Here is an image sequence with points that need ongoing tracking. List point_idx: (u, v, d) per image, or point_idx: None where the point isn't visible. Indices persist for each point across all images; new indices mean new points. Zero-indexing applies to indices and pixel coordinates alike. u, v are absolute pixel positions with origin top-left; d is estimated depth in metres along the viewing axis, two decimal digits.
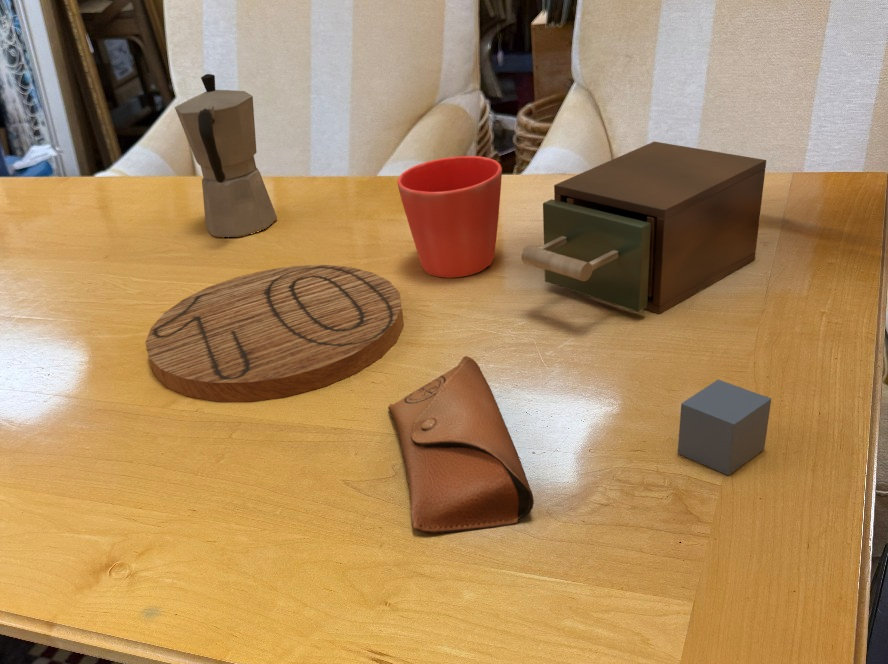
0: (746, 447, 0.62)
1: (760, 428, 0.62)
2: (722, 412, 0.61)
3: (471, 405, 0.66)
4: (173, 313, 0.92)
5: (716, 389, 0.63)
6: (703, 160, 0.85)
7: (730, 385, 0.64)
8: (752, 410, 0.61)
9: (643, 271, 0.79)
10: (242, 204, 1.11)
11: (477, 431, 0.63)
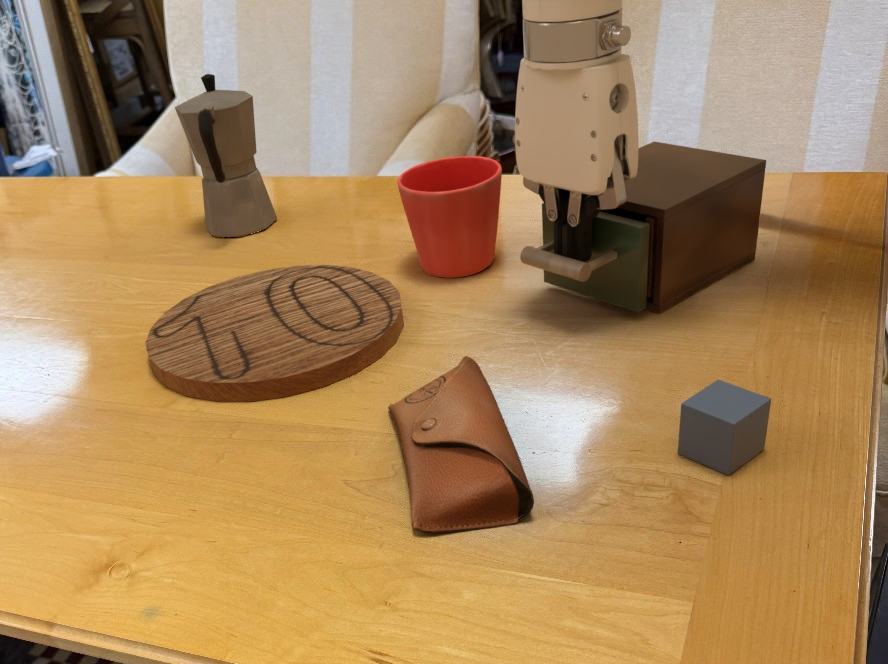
0: (746, 447, 0.62)
1: (760, 428, 0.62)
2: (722, 412, 0.61)
3: (471, 405, 0.66)
4: (173, 313, 0.92)
5: (716, 389, 0.63)
6: (703, 160, 0.85)
7: (730, 385, 0.64)
8: (752, 410, 0.61)
9: (642, 272, 0.79)
10: (242, 204, 1.11)
11: (477, 431, 0.63)
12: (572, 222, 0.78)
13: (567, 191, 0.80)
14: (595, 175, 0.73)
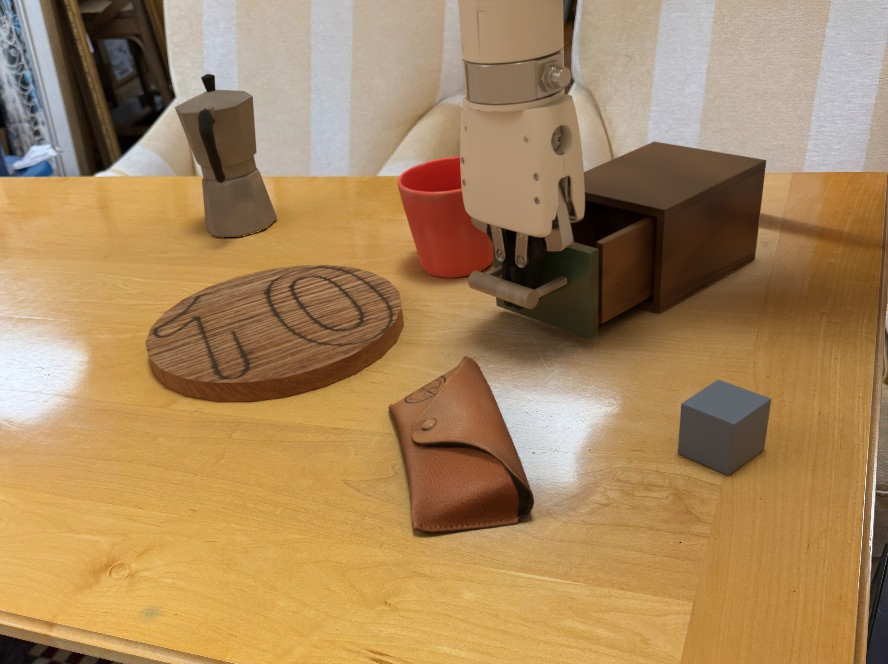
0: (746, 447, 0.62)
1: (760, 428, 0.62)
2: (722, 412, 0.61)
3: (471, 405, 0.66)
4: (173, 313, 0.92)
5: (716, 389, 0.63)
6: (703, 160, 0.85)
7: (730, 385, 0.64)
8: (752, 410, 0.61)
9: (592, 298, 0.76)
10: (242, 204, 1.11)
11: (477, 431, 0.63)
12: (520, 263, 0.76)
13: None
14: (539, 218, 0.70)
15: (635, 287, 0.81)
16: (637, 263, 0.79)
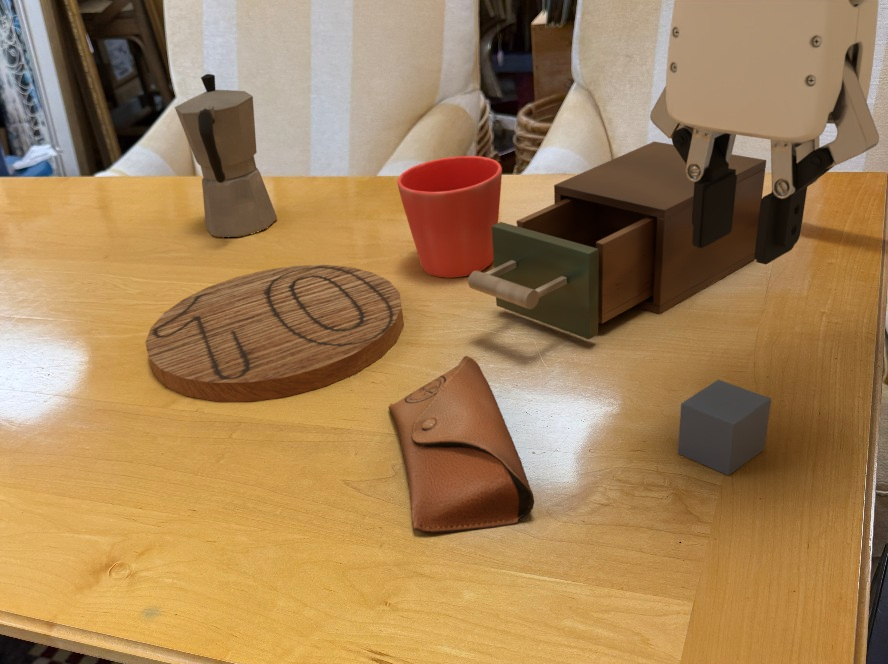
0: (746, 447, 0.62)
1: (760, 428, 0.62)
2: (722, 412, 0.61)
3: (471, 405, 0.66)
4: (173, 313, 0.92)
5: (716, 389, 0.63)
6: None
7: (730, 385, 0.64)
8: (752, 410, 0.61)
9: (592, 298, 0.76)
10: (242, 204, 1.11)
11: (477, 431, 0.63)
12: (780, 192, 0.51)
13: (721, 139, 0.54)
14: (809, 109, 0.47)
15: (635, 287, 0.81)
16: (637, 263, 0.79)
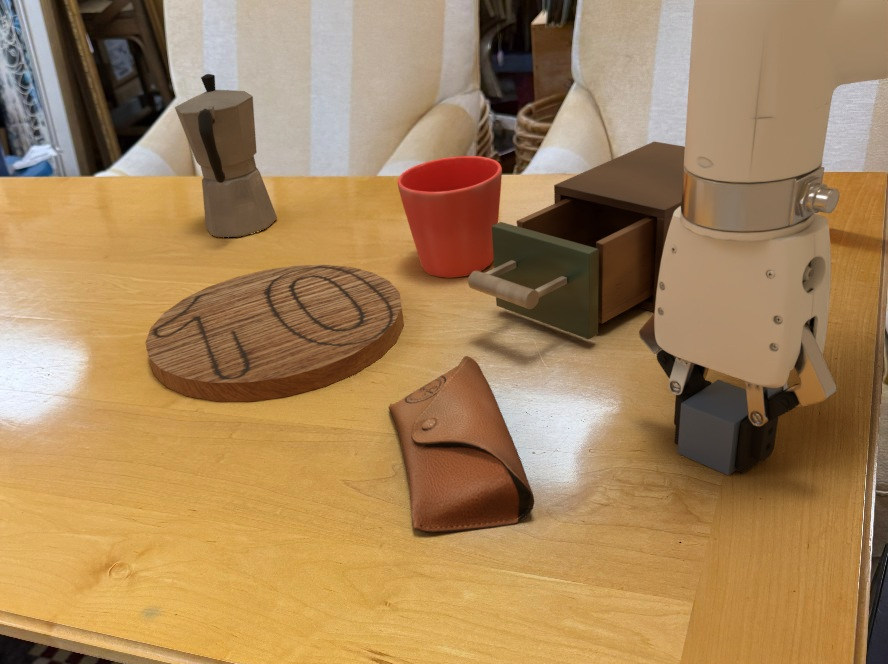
0: None
1: None
2: (722, 412, 0.61)
3: (472, 405, 0.66)
4: (173, 313, 0.92)
5: (716, 389, 0.63)
6: None
7: (730, 385, 0.64)
8: None
9: (592, 298, 0.76)
10: (242, 204, 1.11)
11: (477, 431, 0.63)
12: (755, 420, 0.59)
13: None
14: (773, 367, 0.55)
15: (635, 287, 0.81)
16: (637, 263, 0.79)
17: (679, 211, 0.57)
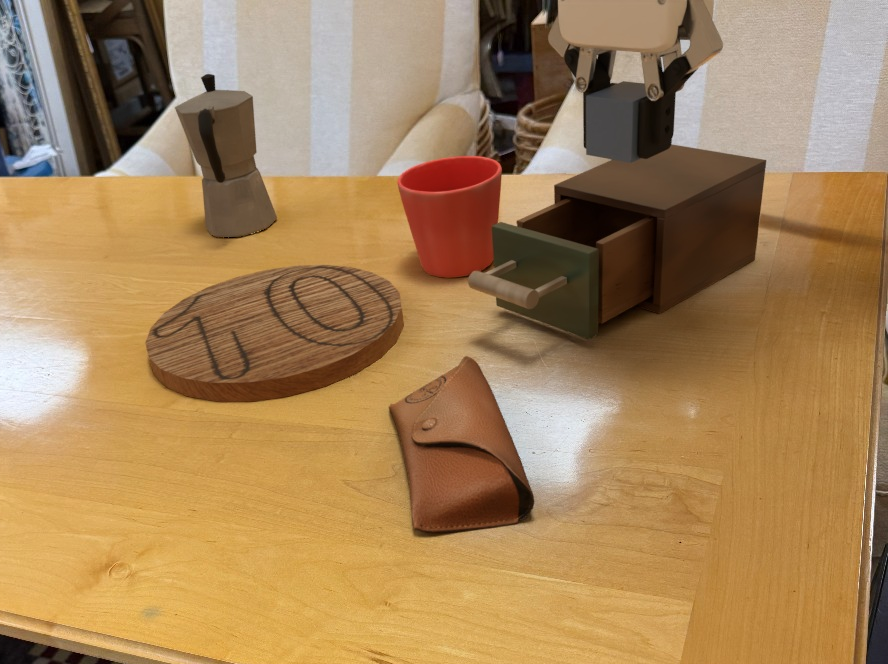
0: None
1: None
2: (623, 96, 0.64)
3: (472, 405, 0.66)
4: (173, 313, 0.92)
5: (620, 86, 0.66)
6: (703, 160, 0.85)
7: (633, 83, 0.67)
8: None
9: (592, 298, 0.76)
10: (242, 204, 1.11)
11: (477, 431, 0.63)
12: (652, 95, 0.62)
13: (604, 57, 0.66)
14: (663, 23, 0.58)
15: (635, 287, 0.81)
16: (637, 263, 0.79)
17: None
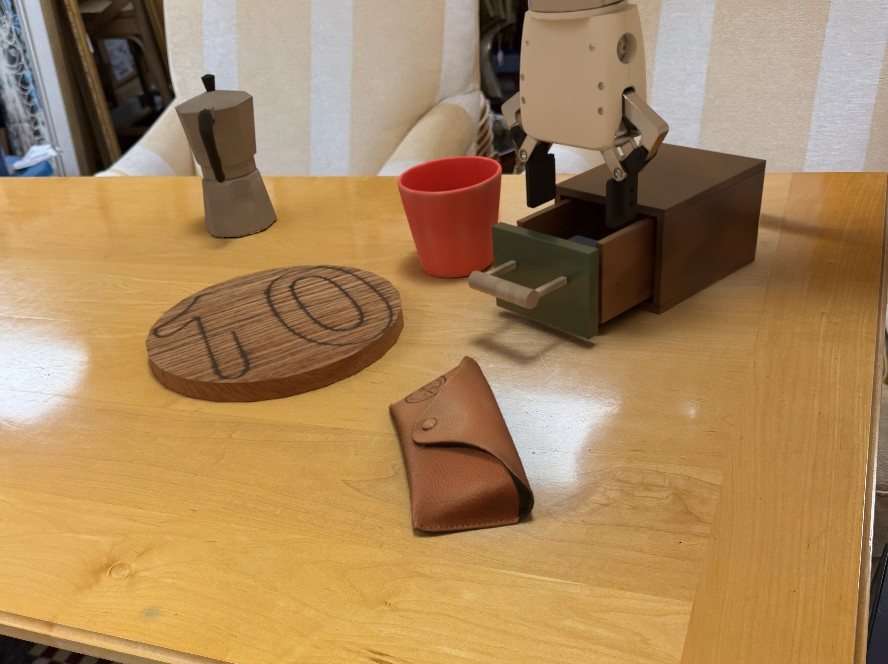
0: None
1: None
2: None
3: (472, 405, 0.66)
4: (173, 313, 0.92)
5: (573, 241, 0.82)
6: (703, 160, 0.85)
7: (584, 238, 0.83)
8: None
9: (592, 298, 0.76)
10: (242, 204, 1.11)
11: (477, 431, 0.63)
12: (617, 176, 0.73)
13: None
14: (602, 129, 0.71)
15: (635, 287, 0.81)
16: (637, 263, 0.79)
17: None
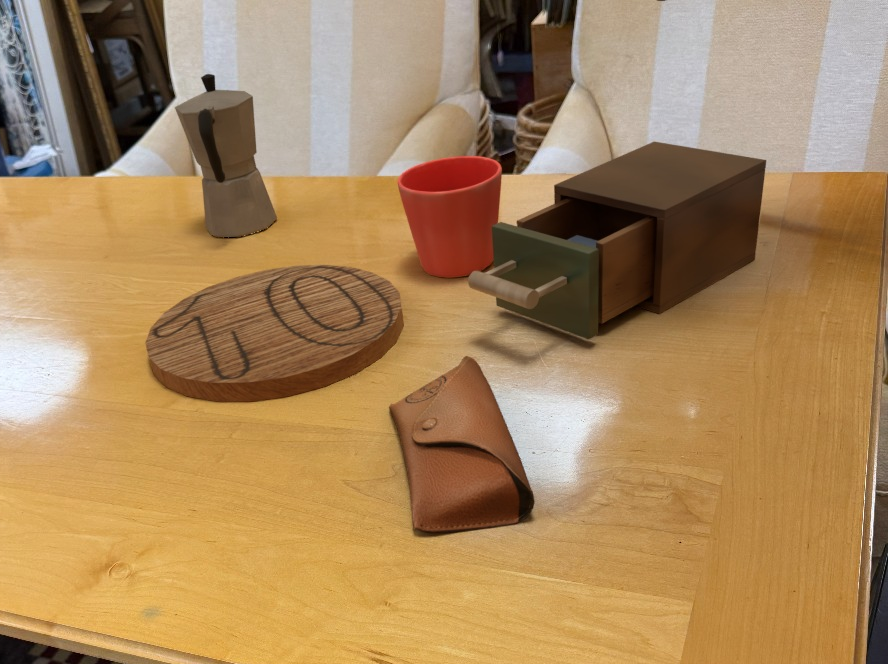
0: None
1: None
2: None
3: (472, 405, 0.66)
4: (173, 313, 0.92)
5: (573, 241, 0.82)
6: (703, 160, 0.85)
7: (584, 238, 0.83)
8: None
9: (592, 298, 0.76)
10: (242, 204, 1.11)
11: (478, 431, 0.63)
12: None
13: None
14: None
15: (635, 287, 0.81)
16: (637, 263, 0.79)
17: None
